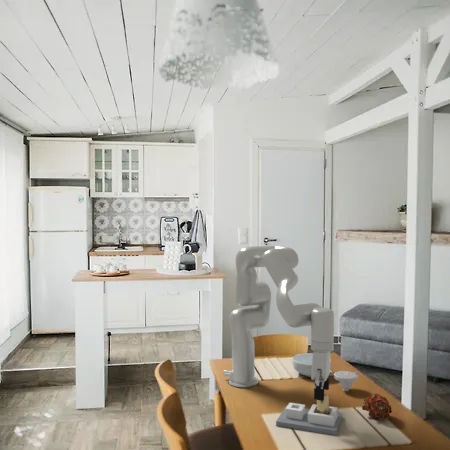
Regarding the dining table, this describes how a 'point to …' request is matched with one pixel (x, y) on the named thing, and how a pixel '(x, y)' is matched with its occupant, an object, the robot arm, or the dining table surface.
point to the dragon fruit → (377, 406)
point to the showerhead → (346, 378)
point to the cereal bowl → (304, 363)
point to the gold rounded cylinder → (323, 405)
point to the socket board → (310, 419)
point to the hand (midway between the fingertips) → (321, 394)
